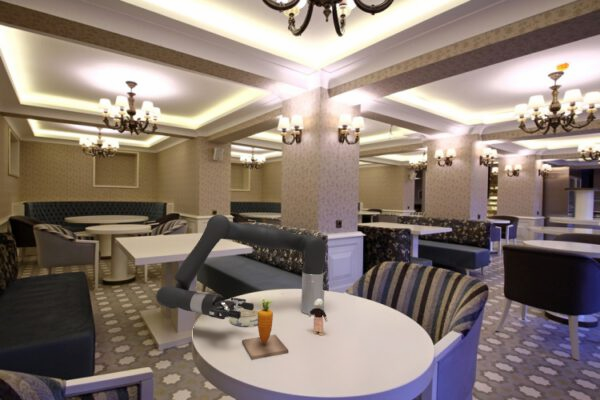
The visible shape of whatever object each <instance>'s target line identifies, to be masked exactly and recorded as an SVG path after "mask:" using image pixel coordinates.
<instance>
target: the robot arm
mask: <svg viewBox="0 0 600 400" xmlns="http://www.w3.org/2000/svg"><path fill="white" fill-rule="evenodd" d="M221 240H231V241H239V242H242V243H244V244H248V245H252V246H255V247H260V248H265V249H271V250H291V251H295V252H299V253H302V254H304V256H305V257H304V263H303V266H302V273H301V276H302V278H301V303H300V304H301V305H300V307H301V308H300V311H301V312H302V313H303V314H306V315H309V313H310V311H311V310H312V309H314V308H316V306H315V305H314V302H315V301H316V300H317V299H322V300H323V304H322V308H320V309H322V310H324V311H325V290H324V289H323V287H324V284H323V283H324V269H325V266H326V255H327V254H326V252H327V246H326V243H325V241H324V239H323V238H321V237H319V236H316V235H309V234H308V235H307V234H300V233H299V234H297V233H293V232H290V231H287V230H284V229H281V228H277V227H274V226H268V225H262V224H248V223H246V224H244V223H238V222H235V221H231V220H229V218H228V217H227V216H226V215H223V214H215V215H212V216H211V217H210V218H209V219H208V220H207V223H206V226H205V228H204V230H203V233H202V235H201V236H200V238H199V240H198V242H196V244H195V246H194V247H193V248H192V250H191V251H190V253H188V255H187V256H186V257H185V259H184V260H183V262H182V263H181V265H179V268H178V269H177V271H176V272H175V274H174V275H173V278H174V280H175V281H176V284H175V286H173V285H164V286H162V287H160V288H159V289H158V290H157V292H156V294H155V300H156V301H157V303H158V304H160V305H161V306H164V307H166V308H169V309H173V310H174V309H178V308H179V309H181V310H183V311H187V312H192V313H195V314H199V315H202V316H208V317H210V318H214V319H215V318H216V319H219V320H225V319H226V318H227V319H230V317H232V318H237V319H239V318H241V312H240V311H239V310H241V309H247V310H253V309H255V307H254V306H255V304H254V303H253V302H252V303H251V302H247V299H245V298H238V297H233V296H232V297H230V299H224V297H223V296H222V295H221V294H219V293H218V294H217V293H211V292H207V291H196V290H190V288H191V284H192V283H193V281H194V280H195V278H196V277H197V276H198V274H199V272H200V270H201V269H202V267H203V265H204V264H205V262H206V260H207V259H208V257H209V256H210V254H211V252H213V250H214V248H215V247H216V246H217V244H218V243H219V242H220V241H221ZM313 315H315V314H312V315H311V316H313Z"/></svg>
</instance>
